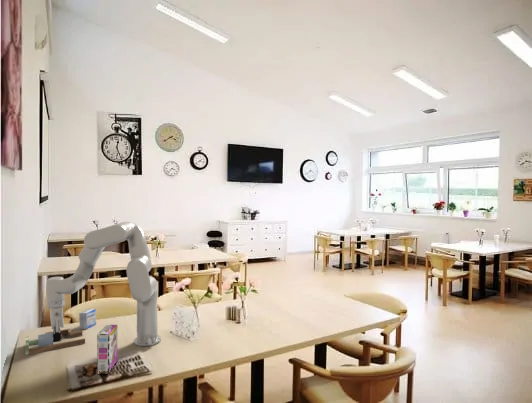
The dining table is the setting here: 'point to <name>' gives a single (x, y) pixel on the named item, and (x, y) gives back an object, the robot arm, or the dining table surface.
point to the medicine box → (87, 318)
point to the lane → (64, 334)
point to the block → (45, 339)
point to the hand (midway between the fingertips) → (56, 341)
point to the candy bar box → (107, 348)
